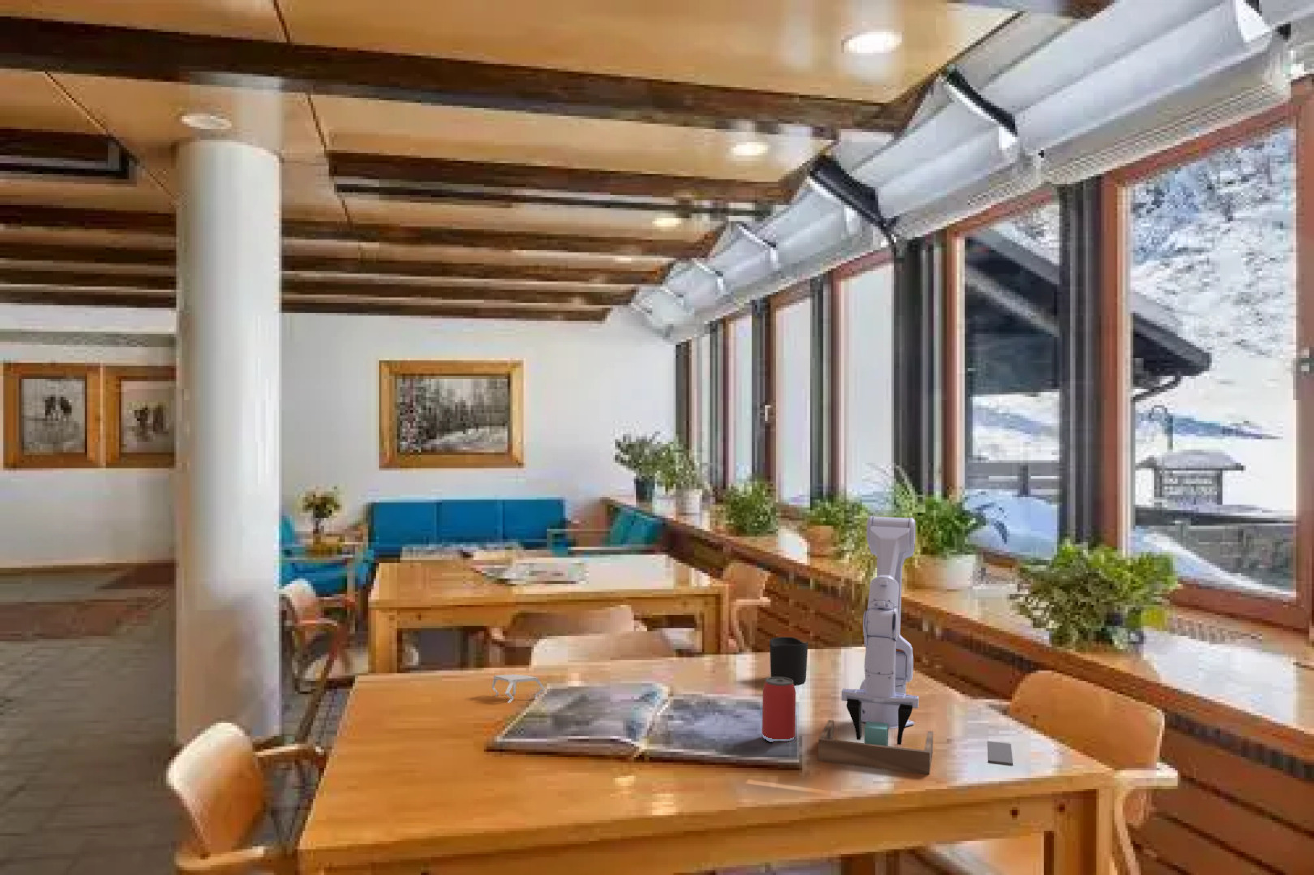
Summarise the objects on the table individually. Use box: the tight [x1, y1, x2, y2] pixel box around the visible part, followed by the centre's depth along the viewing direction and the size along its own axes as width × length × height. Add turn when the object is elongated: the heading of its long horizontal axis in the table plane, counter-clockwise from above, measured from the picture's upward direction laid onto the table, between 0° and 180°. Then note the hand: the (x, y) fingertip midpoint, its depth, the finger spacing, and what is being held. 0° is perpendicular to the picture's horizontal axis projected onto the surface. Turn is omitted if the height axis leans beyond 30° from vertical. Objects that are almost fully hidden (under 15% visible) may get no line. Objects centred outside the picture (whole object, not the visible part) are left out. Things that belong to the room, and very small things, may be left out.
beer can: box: [761, 676, 797, 739], centre depth 191 cm, size 7×7×12 cm
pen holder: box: [769, 636, 809, 686], centre depth 237 cm, size 9×9×10 cm
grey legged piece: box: [491, 673, 546, 704], centre depth 218 cm, size 12×8×5 cm
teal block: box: [863, 721, 889, 746], centre depth 180 cm, size 4×4×6 cm
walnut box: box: [817, 719, 934, 775], centre depth 180 cm, size 13×20×4 cm, turn 71°
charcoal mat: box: [986, 740, 1014, 766], centre depth 186 cm, size 12×12×1 cm
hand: (879, 740), depth 185 cm, fingers open, 7 cm apart
